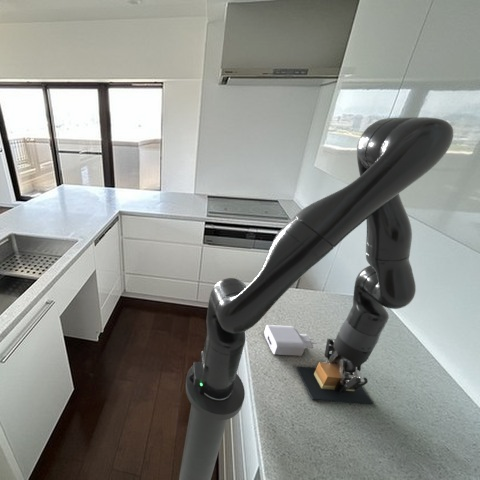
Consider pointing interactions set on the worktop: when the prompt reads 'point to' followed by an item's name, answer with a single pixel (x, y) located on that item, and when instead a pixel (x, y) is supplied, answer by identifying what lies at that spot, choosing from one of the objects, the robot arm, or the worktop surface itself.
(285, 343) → the charger
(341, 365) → the robot arm
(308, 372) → the mat
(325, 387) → the brush
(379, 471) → the worktop surface
